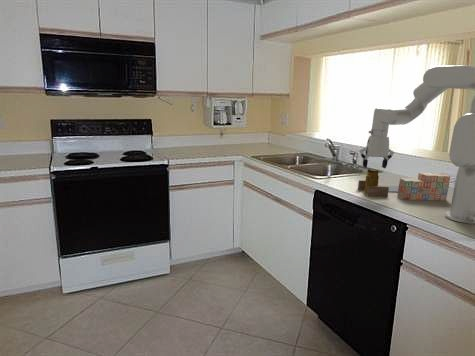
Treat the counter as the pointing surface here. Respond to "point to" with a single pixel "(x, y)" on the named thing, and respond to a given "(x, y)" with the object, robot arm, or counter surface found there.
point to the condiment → (371, 179)
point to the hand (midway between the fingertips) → (374, 167)
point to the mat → (393, 188)
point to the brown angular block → (374, 189)
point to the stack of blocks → (424, 187)
